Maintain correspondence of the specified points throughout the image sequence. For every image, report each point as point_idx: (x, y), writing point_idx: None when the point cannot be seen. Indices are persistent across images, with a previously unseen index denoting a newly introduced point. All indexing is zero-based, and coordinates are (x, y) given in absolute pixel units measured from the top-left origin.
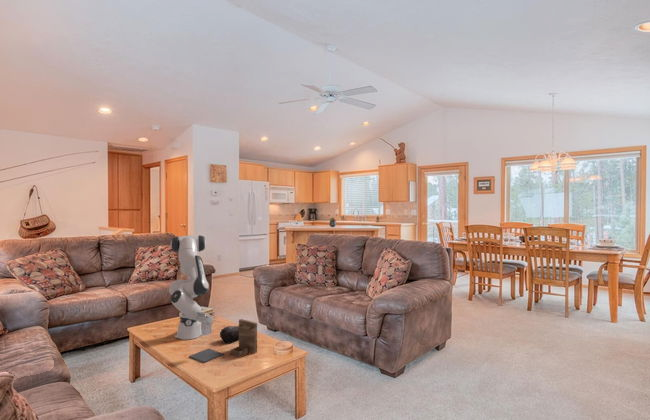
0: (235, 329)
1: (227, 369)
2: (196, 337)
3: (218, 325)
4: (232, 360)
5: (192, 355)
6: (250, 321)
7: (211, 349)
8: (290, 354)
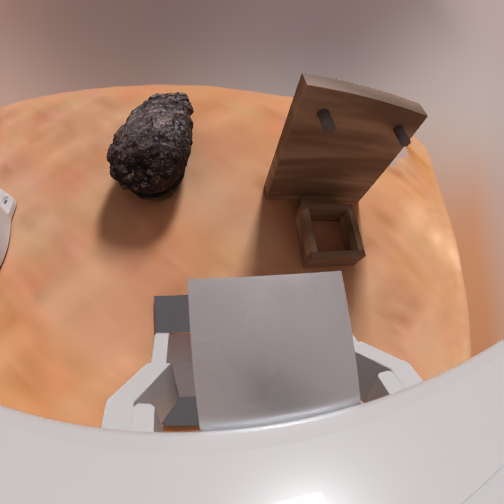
0: (178, 117)
1: (412, 362)
2: (8, 240)
3: (21, 126)
4: (362, 301)
5: (171, 411)
6: (380, 91)
7: (180, 297)
8: (417, 159)
